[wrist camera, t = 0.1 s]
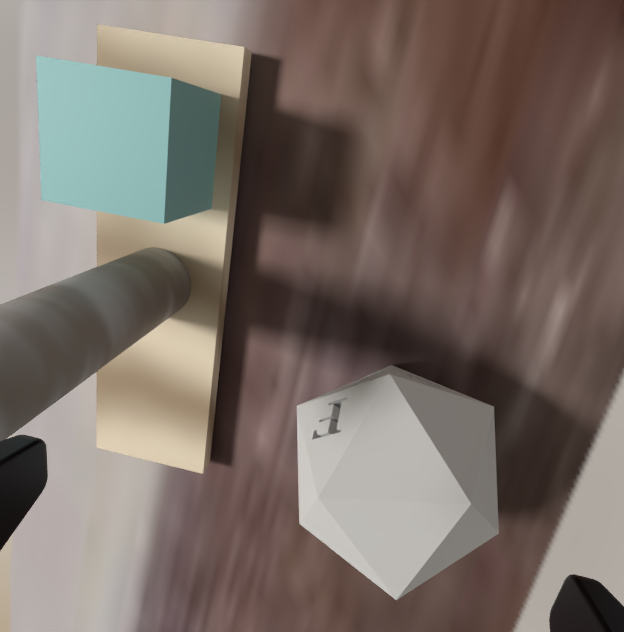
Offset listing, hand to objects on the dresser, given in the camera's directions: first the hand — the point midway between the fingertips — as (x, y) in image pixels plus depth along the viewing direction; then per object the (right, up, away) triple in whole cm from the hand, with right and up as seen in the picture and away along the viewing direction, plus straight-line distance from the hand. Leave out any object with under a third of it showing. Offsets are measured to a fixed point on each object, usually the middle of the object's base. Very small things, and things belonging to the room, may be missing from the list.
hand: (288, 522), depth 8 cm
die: (+4, -2, +16) cm, 16 cm away
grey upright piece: (-6, +5, +15) cm, 17 cm away
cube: (-6, +11, +12) cm, 17 cm away
